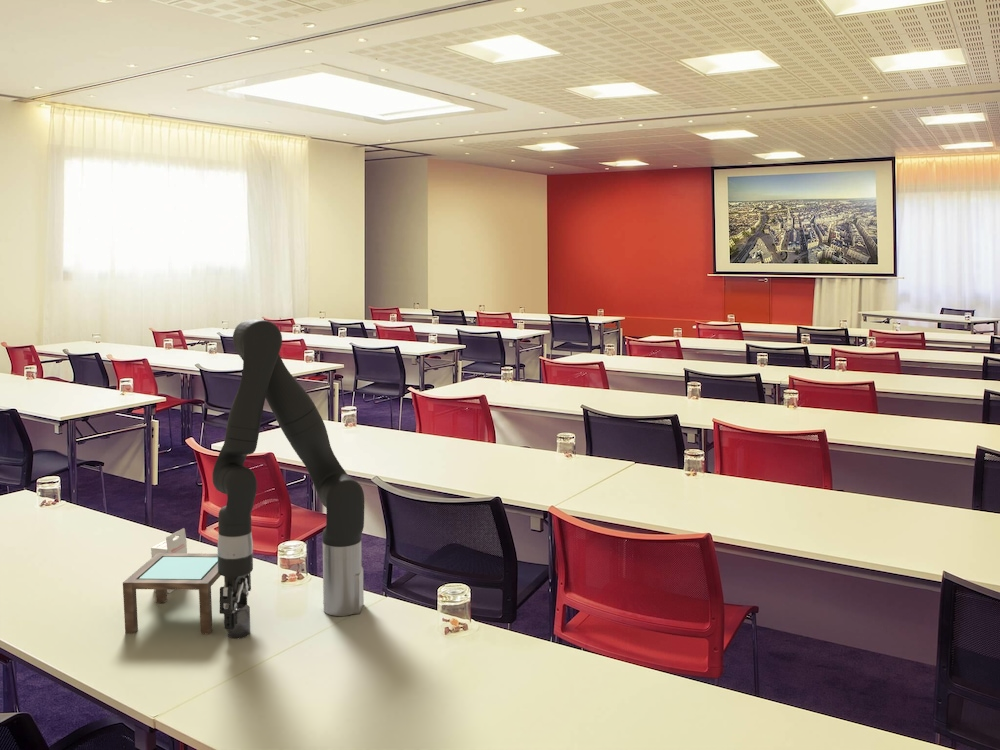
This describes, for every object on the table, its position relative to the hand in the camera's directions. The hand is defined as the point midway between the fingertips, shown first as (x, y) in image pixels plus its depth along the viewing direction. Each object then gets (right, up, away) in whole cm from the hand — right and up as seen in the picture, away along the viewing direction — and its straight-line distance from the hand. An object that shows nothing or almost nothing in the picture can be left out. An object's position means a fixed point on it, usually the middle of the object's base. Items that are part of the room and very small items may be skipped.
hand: (236, 620), depth 185 cm
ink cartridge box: (-26, +1, +27) cm, 37 cm away
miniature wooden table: (-16, -2, +9) cm, 18 cm away
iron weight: (+1, -3, 0) cm, 3 cm away
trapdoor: (-15, +9, +8) cm, 20 cm away
